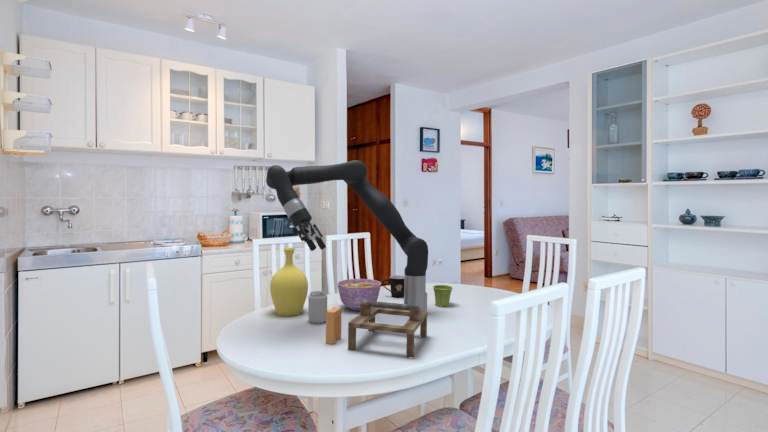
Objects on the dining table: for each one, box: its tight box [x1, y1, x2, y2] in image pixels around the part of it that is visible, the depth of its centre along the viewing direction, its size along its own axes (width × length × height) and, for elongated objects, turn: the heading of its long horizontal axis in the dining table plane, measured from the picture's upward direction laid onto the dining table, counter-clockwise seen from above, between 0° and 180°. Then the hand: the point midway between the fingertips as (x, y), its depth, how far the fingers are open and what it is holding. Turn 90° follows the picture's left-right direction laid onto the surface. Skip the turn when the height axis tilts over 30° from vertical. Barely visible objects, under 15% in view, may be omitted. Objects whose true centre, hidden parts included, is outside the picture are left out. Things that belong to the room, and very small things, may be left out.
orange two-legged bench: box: [325, 306, 342, 345], centre depth 148 cm, size 3×6×11 cm, turn 163°
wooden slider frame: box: [347, 300, 428, 358], centre depth 147 cm, size 22×22×14 cm
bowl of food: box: [336, 278, 382, 312], centre depth 191 cm, size 20×20×12 cm
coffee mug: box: [381, 275, 404, 299], centre depth 214 cm, size 12×9×10 cm
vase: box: [269, 247, 309, 317], centre depth 182 cm, size 16×16×28 cm
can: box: [307, 290, 328, 325], centre depth 170 cm, size 8×8×12 cm
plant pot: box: [432, 284, 454, 308], centre depth 198 cm, size 9×9×9 cm
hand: (319, 249), depth 156 cm, fingers open, 8 cm apart
